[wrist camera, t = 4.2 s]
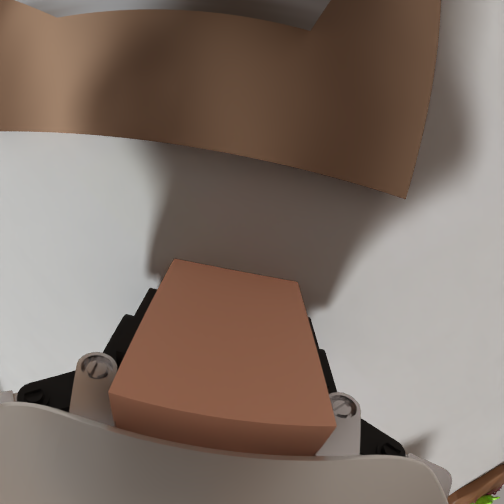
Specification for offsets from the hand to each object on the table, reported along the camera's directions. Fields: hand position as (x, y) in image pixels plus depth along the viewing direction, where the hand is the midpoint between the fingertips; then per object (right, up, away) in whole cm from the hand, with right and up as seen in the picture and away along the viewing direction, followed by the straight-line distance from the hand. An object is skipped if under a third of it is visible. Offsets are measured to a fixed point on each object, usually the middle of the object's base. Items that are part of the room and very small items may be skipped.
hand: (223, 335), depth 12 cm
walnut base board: (-1, +16, -5) cm, 17 cm away
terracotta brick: (0, 0, +1) cm, 1 cm away
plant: (+42, -42, +19) cm, 62 cm away
